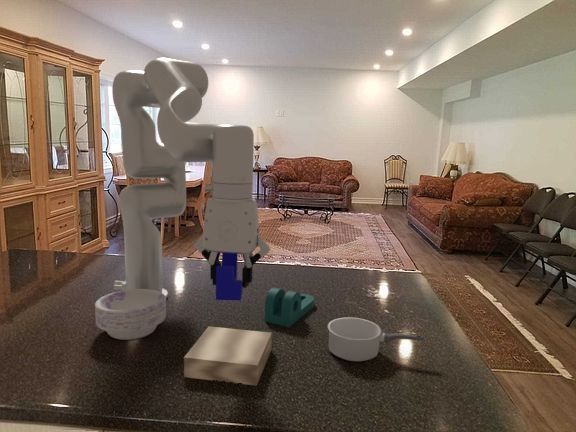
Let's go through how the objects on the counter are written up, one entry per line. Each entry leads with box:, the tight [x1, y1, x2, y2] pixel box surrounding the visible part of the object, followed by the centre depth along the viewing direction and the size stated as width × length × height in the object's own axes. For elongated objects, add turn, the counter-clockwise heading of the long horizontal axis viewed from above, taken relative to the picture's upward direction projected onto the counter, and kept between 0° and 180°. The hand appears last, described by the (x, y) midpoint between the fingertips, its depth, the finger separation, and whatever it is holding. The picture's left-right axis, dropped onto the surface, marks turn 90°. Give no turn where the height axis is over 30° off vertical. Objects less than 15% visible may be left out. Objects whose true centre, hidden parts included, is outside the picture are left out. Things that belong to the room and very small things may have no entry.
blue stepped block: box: [215, 253, 244, 301], centre depth 85 cm, size 12×4×6 cm, turn 3°
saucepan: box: [327, 316, 425, 362], centre depth 93 cm, size 12×20×6 cm, turn 77°
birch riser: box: [183, 325, 273, 386], centre depth 88 cm, size 14×14×4 cm
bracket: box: [264, 287, 315, 328], centre depth 115 cm, size 18×7×8 cm, turn 154°
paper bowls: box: [94, 289, 167, 341], centre depth 100 cm, size 15×15×8 cm
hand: (231, 283), depth 86 cm, fingers closed on blue stepped block, 5 cm apart
